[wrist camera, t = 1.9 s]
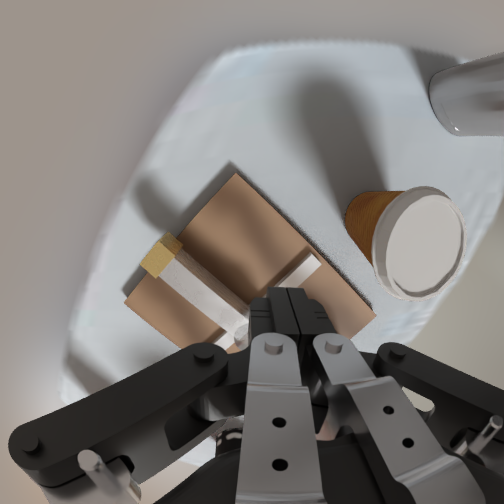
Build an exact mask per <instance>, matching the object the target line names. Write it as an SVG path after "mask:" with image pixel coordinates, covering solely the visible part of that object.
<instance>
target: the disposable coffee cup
mask: <svg viewBox="0 0 504 504" xmlns="http://www.w3.org/2000/svg"><path fill="white" fill-rule="evenodd" d="M345 225H346V230H347V232H348V234H349V236H350V237H351V238H352V240H353V241H354V242H355V244H356V245H357V246H358V247H359V249H360V250H361V252H362V253H363V254H364V256H365V257H366V258H367V260H368V261H369V262H370V264H371V265H372V266H373V268H374V272H375V276H376V278H377V280H378V281H379V283H380V285H381V286H382V288H383V289H384V290H385V291H386V292H387V293H388V294H390V295H392V296H393V297H395V298H398V299H402V300H409V301H425V300H428V299H430V298H432V297H434V296H436V295H438V294H440V293H441V292H442V291H443V290H444V289H445V288H447V287H448V285H449V284H450V283H451V282H452V281H453V279H454V278H455V276H456V275H457V273H458V271H459V269H460V267H461V264H462V262H463V259H464V256H465V250H466V244H467V232H466V225H465V221H464V218H463V215H462V213H461V211H460V210H459V208H458V207H457V206H456V204H455V203H453V202H452V200H451V199H450V198H449V197H448V196H447V195H446V194H445V193H443V192H442V191H440V190H439V189H436V188H433V187H427V186H421V187H415V188H411V189H409V190H407V191H379V192H364V193H362V194H360V195H358V196H357V197H355V198H354V199H353V200H352V202H351V203H350V205H349V206H348V208H347V211H346V216H345Z"/></svg>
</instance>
